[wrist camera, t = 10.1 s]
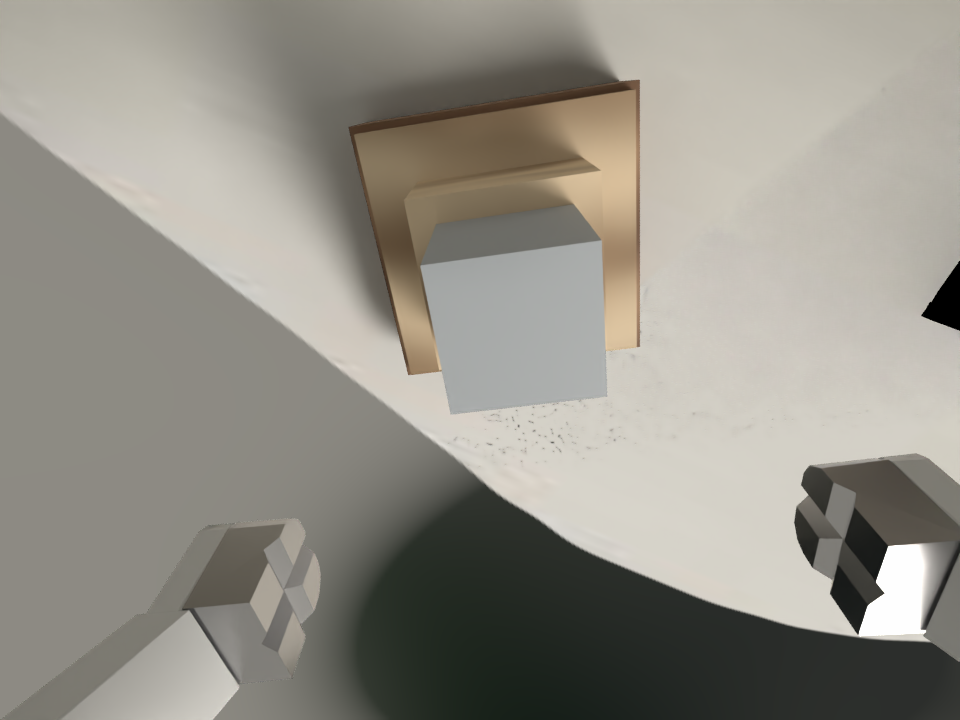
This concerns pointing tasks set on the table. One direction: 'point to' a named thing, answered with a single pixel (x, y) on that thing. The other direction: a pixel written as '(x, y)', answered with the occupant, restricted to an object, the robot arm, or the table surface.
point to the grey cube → (517, 309)
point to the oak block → (504, 201)
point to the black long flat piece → (946, 302)
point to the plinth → (496, 146)
